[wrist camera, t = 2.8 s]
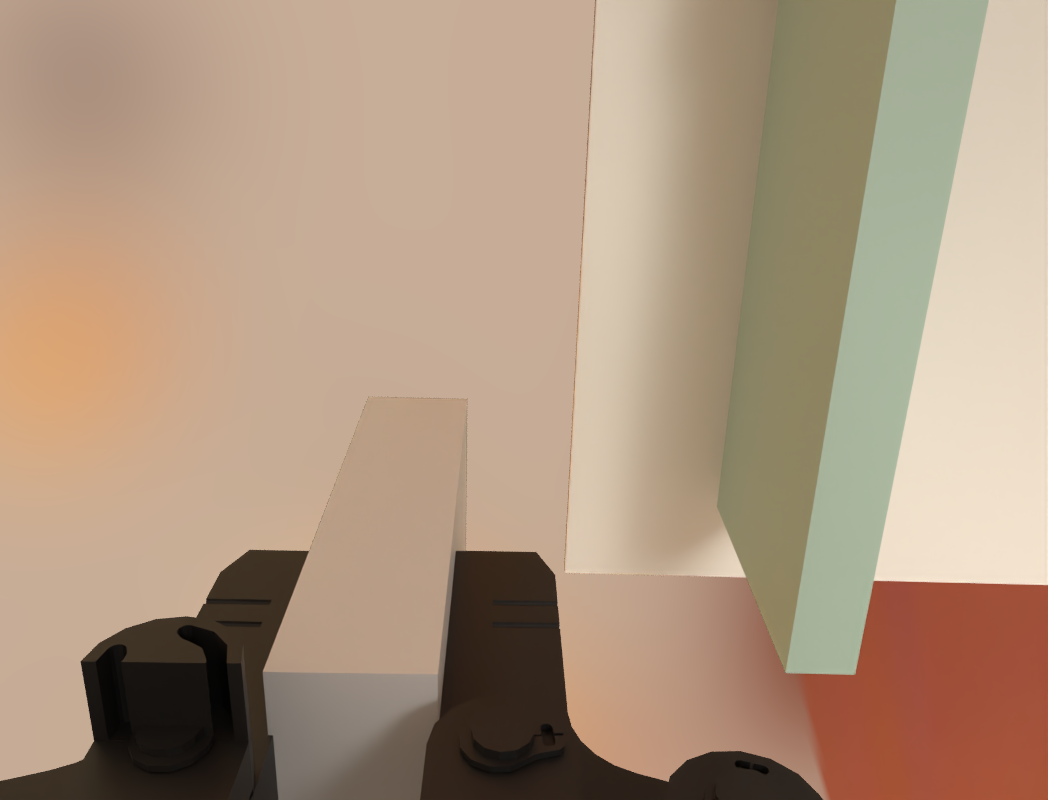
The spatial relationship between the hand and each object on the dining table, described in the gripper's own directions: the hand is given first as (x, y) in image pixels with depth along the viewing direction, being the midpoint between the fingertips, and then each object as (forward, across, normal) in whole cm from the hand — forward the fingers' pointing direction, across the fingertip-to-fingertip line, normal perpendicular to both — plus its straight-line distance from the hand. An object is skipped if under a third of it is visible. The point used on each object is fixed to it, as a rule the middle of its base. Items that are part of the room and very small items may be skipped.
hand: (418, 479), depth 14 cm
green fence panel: (+6, +7, +2) cm, 9 cm away
